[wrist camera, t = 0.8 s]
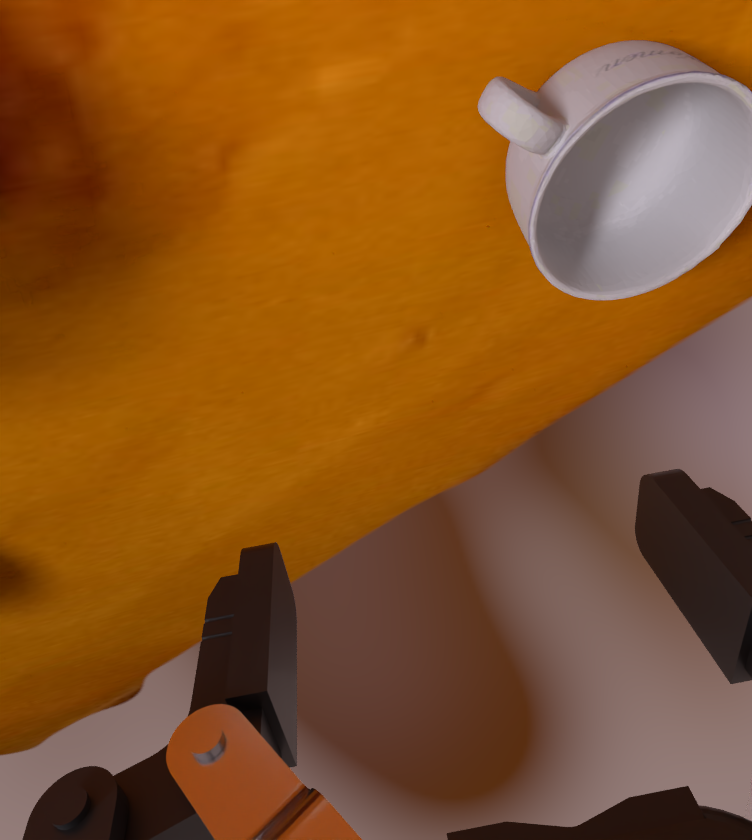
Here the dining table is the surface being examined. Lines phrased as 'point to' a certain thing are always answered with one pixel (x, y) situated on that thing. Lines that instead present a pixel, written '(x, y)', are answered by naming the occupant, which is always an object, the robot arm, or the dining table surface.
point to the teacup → (625, 166)
